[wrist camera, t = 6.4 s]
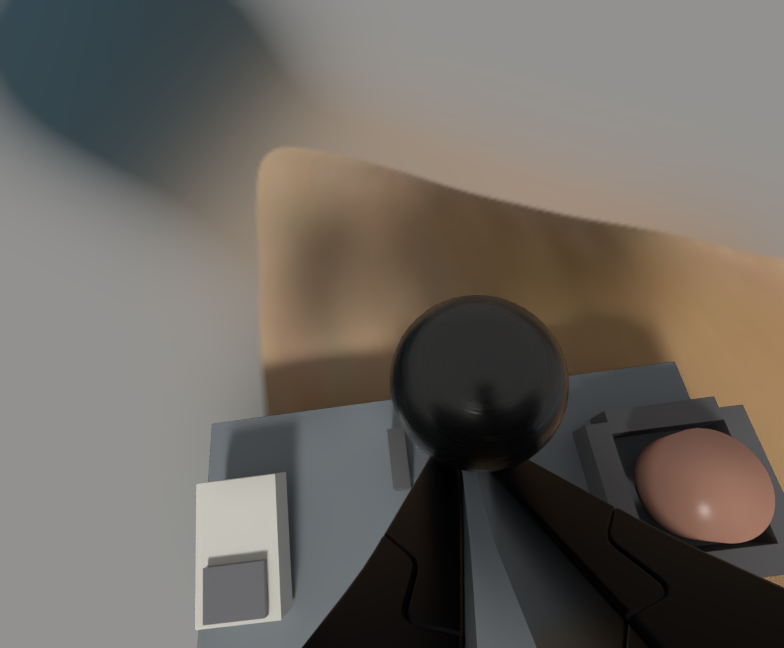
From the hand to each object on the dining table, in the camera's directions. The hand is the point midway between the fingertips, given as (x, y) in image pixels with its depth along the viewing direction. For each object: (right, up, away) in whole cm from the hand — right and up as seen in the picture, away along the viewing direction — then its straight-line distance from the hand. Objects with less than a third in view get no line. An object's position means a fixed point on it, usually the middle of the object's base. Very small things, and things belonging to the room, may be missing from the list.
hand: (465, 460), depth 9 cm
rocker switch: (-7, -5, +6) cm, 10 cm away
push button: (+8, -2, +5) cm, 10 cm away
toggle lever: (+1, -2, +7) cm, 7 cm away
